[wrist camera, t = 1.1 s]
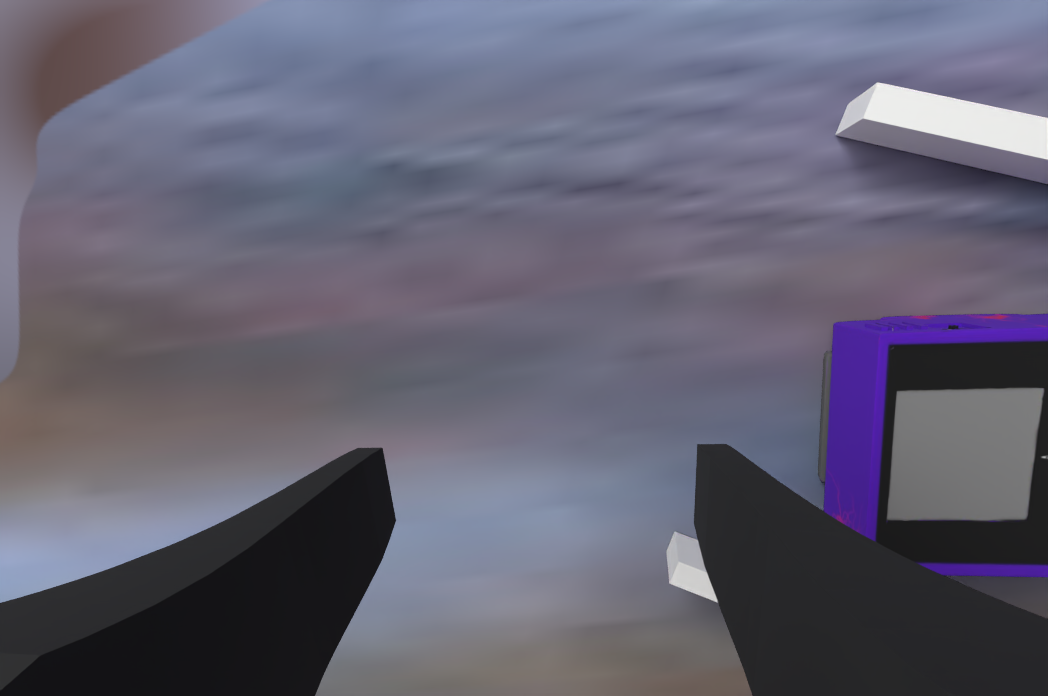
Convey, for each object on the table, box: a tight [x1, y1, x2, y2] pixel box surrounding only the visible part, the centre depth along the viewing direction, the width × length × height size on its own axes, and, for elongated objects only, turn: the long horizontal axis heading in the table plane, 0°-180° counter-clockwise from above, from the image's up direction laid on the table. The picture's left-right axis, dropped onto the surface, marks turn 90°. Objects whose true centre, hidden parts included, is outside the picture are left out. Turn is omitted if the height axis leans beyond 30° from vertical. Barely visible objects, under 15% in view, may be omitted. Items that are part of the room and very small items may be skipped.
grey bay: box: [666, 83, 1048, 602], centre depth 20 cm, size 14×21×2 cm, turn 164°
